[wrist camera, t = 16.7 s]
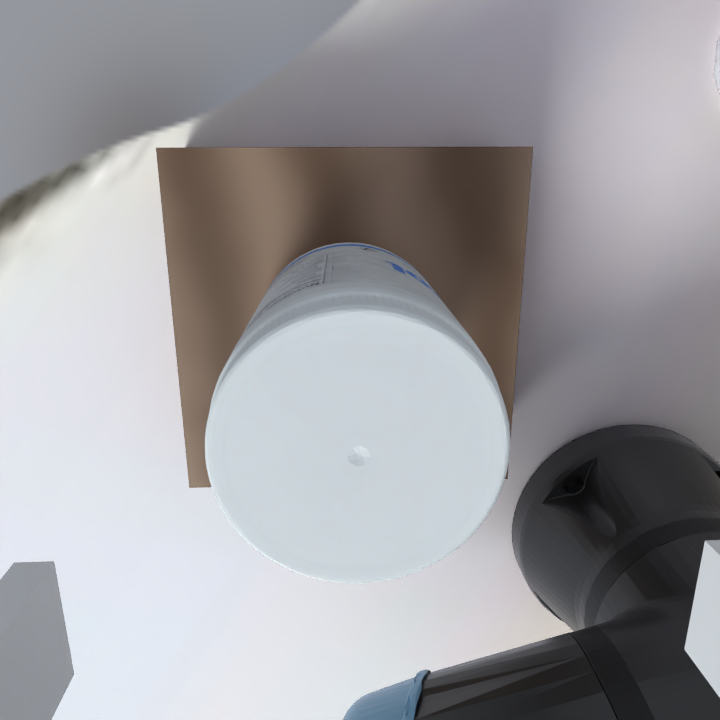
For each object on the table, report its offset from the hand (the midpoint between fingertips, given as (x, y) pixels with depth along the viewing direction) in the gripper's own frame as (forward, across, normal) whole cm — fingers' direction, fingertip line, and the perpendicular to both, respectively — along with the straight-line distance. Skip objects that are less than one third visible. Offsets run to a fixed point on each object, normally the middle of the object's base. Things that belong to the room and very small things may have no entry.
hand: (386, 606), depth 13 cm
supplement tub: (+21, 0, 0) cm, 21 cm away
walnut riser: (+27, 0, 0) cm, 27 cm away
